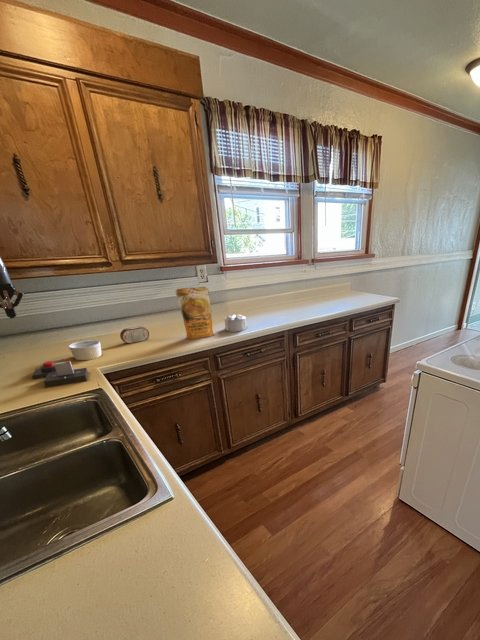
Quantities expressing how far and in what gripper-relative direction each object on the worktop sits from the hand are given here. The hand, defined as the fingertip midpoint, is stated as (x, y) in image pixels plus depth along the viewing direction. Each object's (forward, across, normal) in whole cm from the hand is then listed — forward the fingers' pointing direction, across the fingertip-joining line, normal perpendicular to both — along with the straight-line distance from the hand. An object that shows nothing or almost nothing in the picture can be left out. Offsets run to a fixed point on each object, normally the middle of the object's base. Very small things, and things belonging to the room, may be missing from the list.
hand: (12, 317), depth 129 cm
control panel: (+25, -13, +13) cm, 31 cm away
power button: (+21, -6, +1) cm, 22 cm away
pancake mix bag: (+25, -76, -28) cm, 85 cm away
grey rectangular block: (+22, -13, +13) cm, 29 cm away
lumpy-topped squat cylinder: (+25, -101, -35) cm, 110 cm away
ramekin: (+25, -19, -17) cm, 36 cm away
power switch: (+25, -6, +1) cm, 26 cm away
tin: (+25, -42, -34) cm, 60 cm away
